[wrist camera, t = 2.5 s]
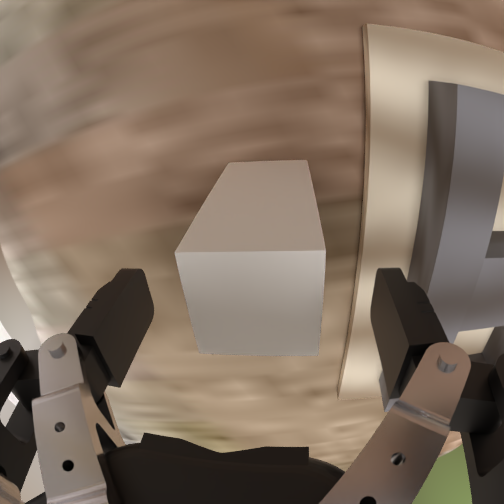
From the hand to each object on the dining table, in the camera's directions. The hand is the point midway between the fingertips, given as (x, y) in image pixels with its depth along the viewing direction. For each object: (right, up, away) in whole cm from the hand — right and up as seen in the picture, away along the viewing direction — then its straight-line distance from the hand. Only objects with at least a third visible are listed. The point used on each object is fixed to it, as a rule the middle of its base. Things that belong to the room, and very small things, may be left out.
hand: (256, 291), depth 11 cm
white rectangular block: (+1, +4, +6) cm, 8 cm away
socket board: (+15, +1, +7) cm, 16 cm away
